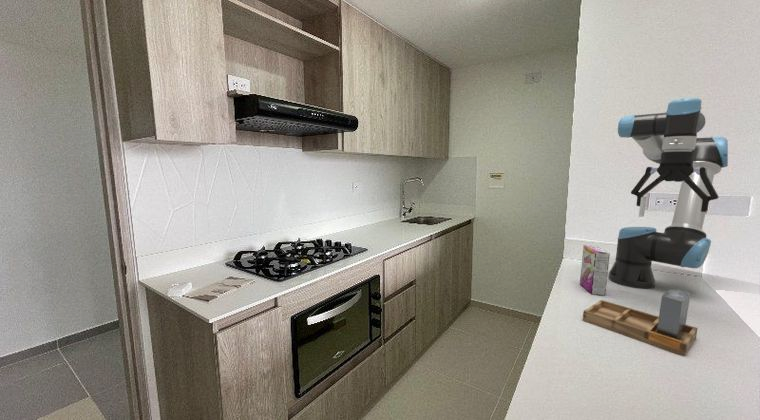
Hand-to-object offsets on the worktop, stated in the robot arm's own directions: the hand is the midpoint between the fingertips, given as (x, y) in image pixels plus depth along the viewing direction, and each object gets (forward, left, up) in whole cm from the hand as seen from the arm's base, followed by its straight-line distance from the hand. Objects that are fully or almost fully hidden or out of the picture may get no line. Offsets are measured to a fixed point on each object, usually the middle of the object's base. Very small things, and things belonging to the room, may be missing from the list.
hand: (668, 219), depth 101 cm
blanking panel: (+20, +7, -30) cm, 37 cm away
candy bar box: (-4, -20, -31) cm, 37 cm away
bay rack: (+20, 0, -31) cm, 37 cm away
